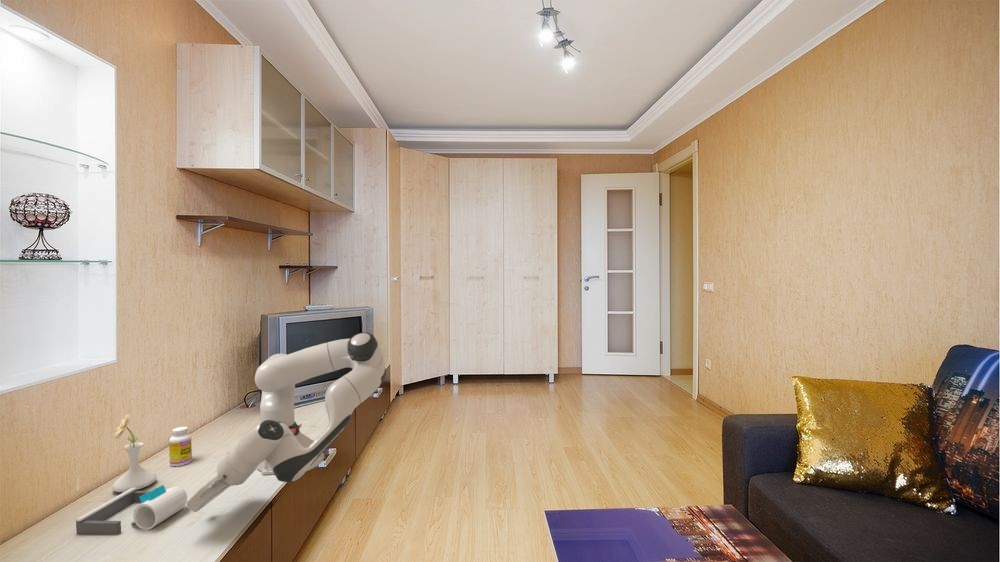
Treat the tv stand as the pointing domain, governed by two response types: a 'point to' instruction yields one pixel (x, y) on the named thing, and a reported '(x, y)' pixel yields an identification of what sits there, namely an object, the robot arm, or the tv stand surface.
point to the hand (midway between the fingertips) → (203, 502)
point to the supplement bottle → (180, 447)
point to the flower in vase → (132, 464)
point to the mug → (158, 506)
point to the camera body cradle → (107, 514)
